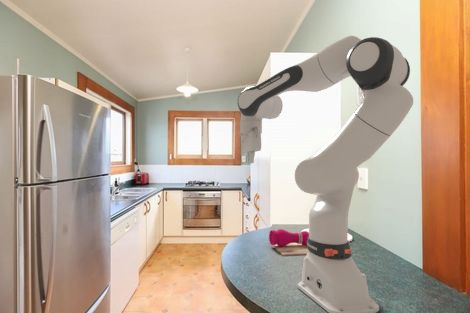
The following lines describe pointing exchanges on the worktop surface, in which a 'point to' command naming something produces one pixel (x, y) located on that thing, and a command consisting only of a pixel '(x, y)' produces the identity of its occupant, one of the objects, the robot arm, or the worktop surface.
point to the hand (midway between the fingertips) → (250, 163)
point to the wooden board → (292, 249)
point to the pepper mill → (287, 237)
